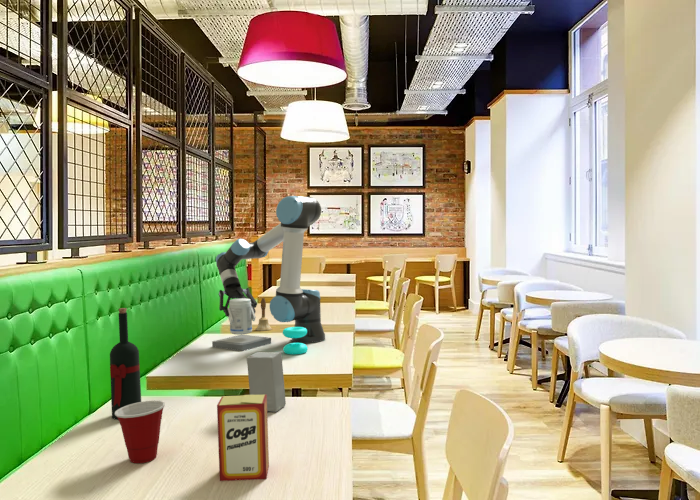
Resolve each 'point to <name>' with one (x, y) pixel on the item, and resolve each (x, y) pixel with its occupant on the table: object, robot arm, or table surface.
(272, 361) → the skincare box
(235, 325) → the supplement tub
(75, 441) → the table surface
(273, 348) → the table surface
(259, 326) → the hand bell
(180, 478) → the table surface
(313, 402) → the table surface
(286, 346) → the donuts
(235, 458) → the baking soda box
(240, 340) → the slate board
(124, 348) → the wine bottle
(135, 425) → the plastic cup
